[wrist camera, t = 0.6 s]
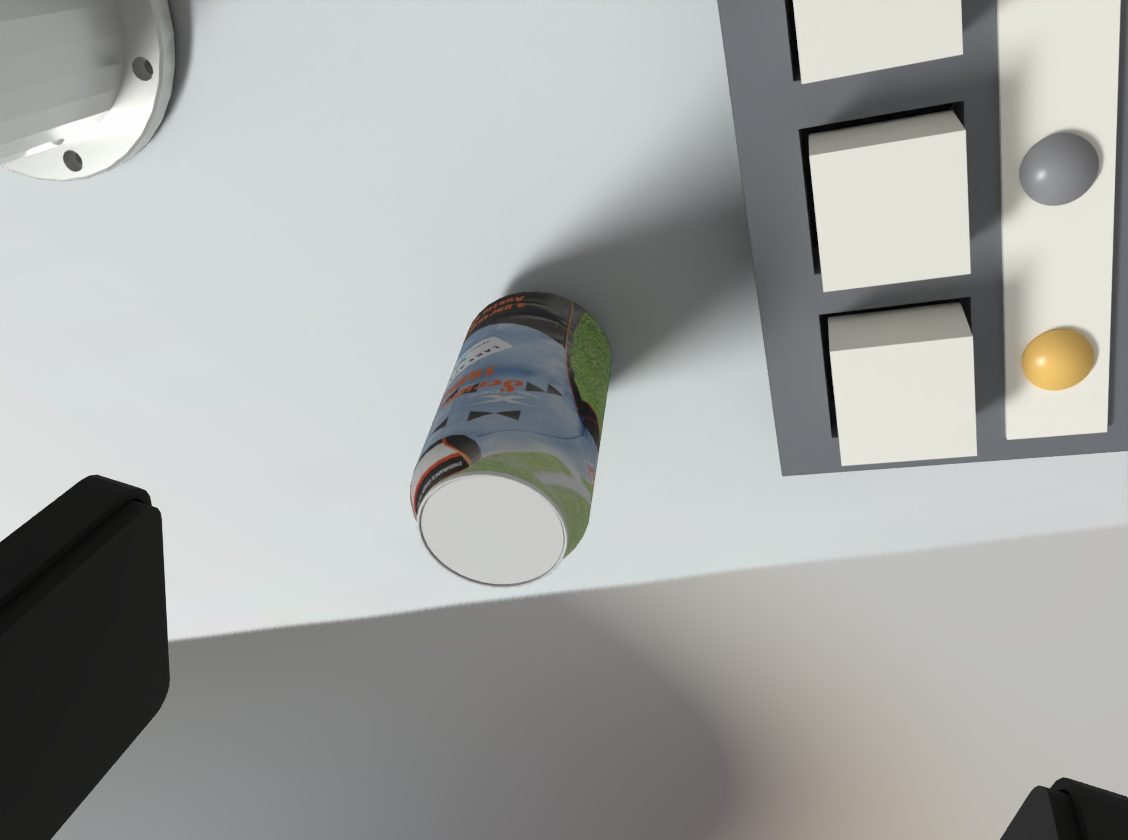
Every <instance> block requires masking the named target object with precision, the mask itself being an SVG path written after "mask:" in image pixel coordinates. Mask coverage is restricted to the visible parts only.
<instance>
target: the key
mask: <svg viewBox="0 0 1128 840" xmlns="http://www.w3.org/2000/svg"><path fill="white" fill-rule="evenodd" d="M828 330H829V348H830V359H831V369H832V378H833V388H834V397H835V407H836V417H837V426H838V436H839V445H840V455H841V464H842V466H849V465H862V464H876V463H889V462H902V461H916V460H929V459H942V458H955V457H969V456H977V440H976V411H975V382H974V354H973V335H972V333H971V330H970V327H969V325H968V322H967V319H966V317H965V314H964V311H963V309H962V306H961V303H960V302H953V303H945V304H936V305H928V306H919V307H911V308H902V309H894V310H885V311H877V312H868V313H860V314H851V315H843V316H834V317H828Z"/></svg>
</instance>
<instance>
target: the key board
mask: <svg viewBox="0 0 1128 840" xmlns="http://www.w3.org/2000/svg"><path fill="white" fill-rule="evenodd" d="M717 1H718V9H719V16H720V23H721V31H722V38H723V45H724V53H725V60H726V68H727V75H728V82H729V90H730V97H731V104H732V112H733V119H734V126H735V134H736V141H737V148H738V156H739V163H740V170H741V178H742V185H743V192H744V200H745V207H746V214H747V222H748V229H749V236H750V244H751V251H752V258H753V266H754V273H755V280H756V288H757V295H758V302H759V310H760V317H761V324H762V332H763V339H764V347H765V354H766V361H767V369H768V376H769V383H770V391H771V398H772V405H773V413H774V420H775V427H776V435H777V442H778V449H779V457H780V464H781V471H782V476H793V475H806V474H820V473H833V472H847V471H861V470H874V469H888V468H902V467H915V466H929V465H942V464H956V463H970V462H983V461H997V460H1011V459H1024V458H1038V457H1052V456H1065V455H1079V454H1092V453H1106V452H1120V451H1128V0H961V10H962V39H963V54H962V55H957V56H952V57H946V58H941V59H935V60H930V61H925V62H919V63H914V64H908V65H903V66H898V67H892V68H887V69H881V70H876V71H871V72H865V73H860V74H855V75H849V76H844V77H838V78H833V79H828V80H822V81H817V82H811V83H806V84H802V82H801V73H800V66H795V67H794V61H793V52H792V43H791V33H790V24H789V15H788V5H787V0H717ZM947 103H952V110H953V112H954V113H955V115H956V116H957V118H958V119H959V121H960V122H961V124H962V125H963V127H964V128H965V130H966V154H967V182H968V211H969V239H970V268H971V274H965V275H957V276H949V277H941V278H933V279H925V280H917V281H909V282H901V283H893V284H885V285H877V286H869V287H861V288H853V289H845V290H837V291H829V292H823V283H822V273H821V264H820V254H819V246H818V247H813V238H812V229H811V220H810V210H809V201H808V192H807V182H806V173H805V164H804V154H803V145H802V136H801V129H803V128H808V127H814V126H820V125H826V124H831V123H837V122H843V121H849V120H855V119H860V118H866V117H872V116H878V115H884V114H889V113H895V112H901V111H907V110H912V109H918V108H924V107H930V106H936V105H941V104H947ZM955 298H960V303H961V306H962V309H963V311H964V314H965V317H966V319H967V322H968V325H969V327H970V330H971V333H972V335H973V354H974V382H975V411H976V440H977V456H969V457H955V458H942V459H929V460H916V461H902V462H889V463H876V464H862V465H849V466H842V464H841V455H840V445H839V436H838V426H837V417H836V407H835V401H833V402H830V397H829V387H828V378H827V369H826V359H825V350H824V341H823V332H822V322H821V314H829V313H837V312H846V311H854V310H863V309H871V308H879V307H888V306H896V305H905V304H913V303H921V302H930V301H938V300H947V299H955Z"/></svg>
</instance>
